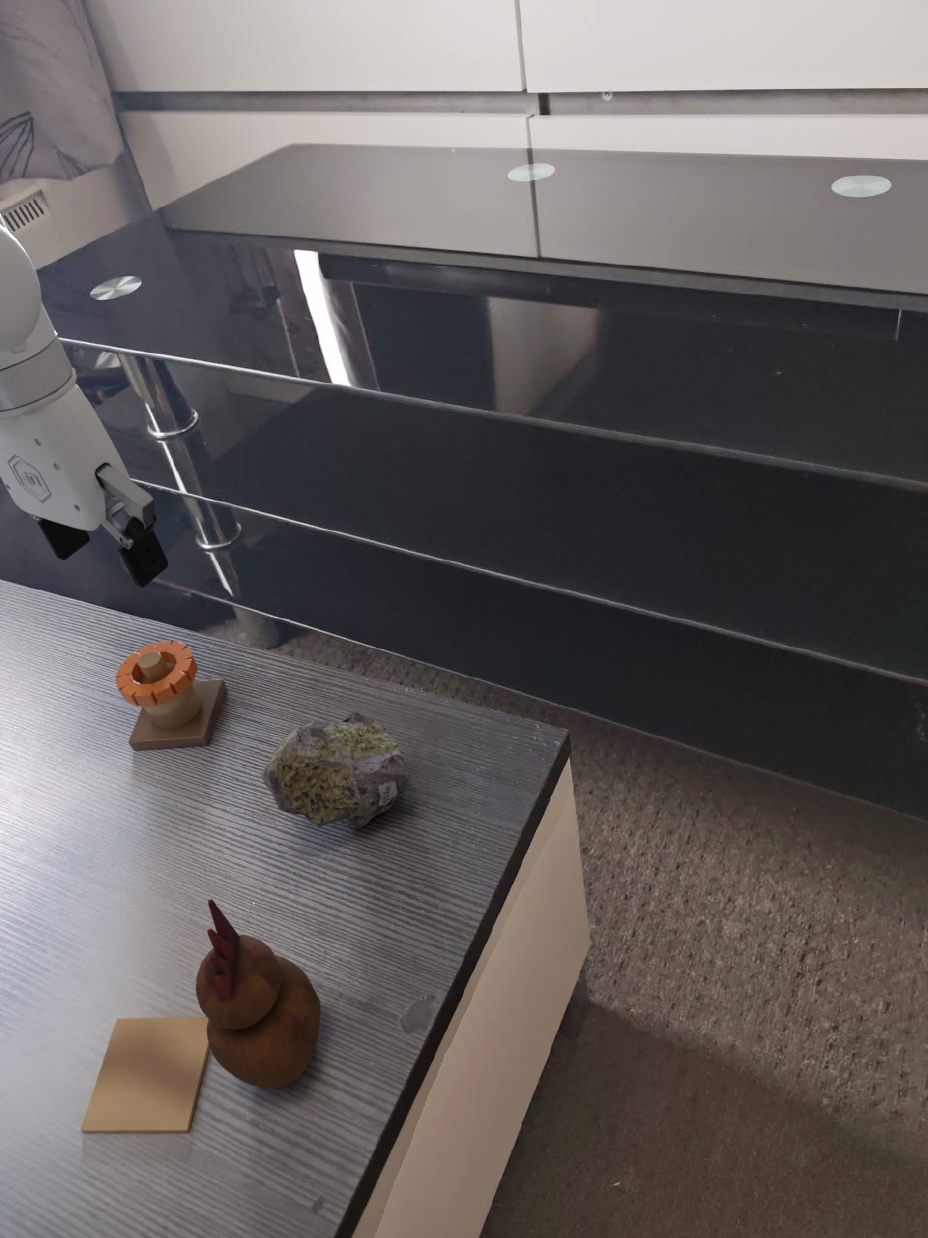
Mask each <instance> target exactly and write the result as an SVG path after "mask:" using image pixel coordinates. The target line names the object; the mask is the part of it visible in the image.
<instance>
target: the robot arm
mask: <svg viewBox="0 0 928 1238" xmlns="http://www.w3.org/2000/svg"><path fill="white" fill-rule="evenodd" d="M41 290H42V289H41V284H40V280H39V277H38V274H37V271H36V269H35V266H34V264H33V262H32V260H31V257H29V255H28V253H27V251H26V250H25V248H24V247H23V246H22V245H21V243H20V242H19V241H18V239H16V238H15V236H13V234H11V232H10V231H9V229H8V227H7V225H6V223H5V221H4V219H3V216H2V215H1V214H0V478H1V481H2V482H3V484H4V486H5V488H6V490H7V491H8V493H9V495H10V497H11V499H12V500H13V502H14V504H15V505H16V506H17V507H18V508H19V509H20V510H22V511H23V512H25V513H27V514H29V516H31V518H33V519H34V520H36V521H37V525H38V526H39V527H38V528H40V530H41V533H43V535H44V537H45V539H46V541H47V542H48V544H49V546H50V548H51V550H52V551H53V553H54V555H55V556H56V558H57V559H59V560H62V561H66V560H68V559H69V558H70V557H71V556H73V555H74V554H75V553H76V552H78V551H79V550H81V549H82V548H83V547H85V545H87V544H88V543H89V542H91V537H90V535H89V533H88V532H89V531H91V532H92V531H95V530H97V529H98V528H100V525H101V526H102V527H103V528H104V529H105V530H106V531H107V532H108V533H109V534H110V535H111V536H112V537H113V538H114V539H115V540H116V541H117V542H118V543H119V546H118V547H116V549H117V551H118V553H119V556H120V557H121V559H122V561H123V563H124V565H125V568H126V569H127V571H128V573H129V575H130V576H131V578H132V581H133V582H134V585H135V586H137V587H140V588H145V587H146V586H148V585H149V583H151V582H152V581H154V579H156V578H157V577H158V576H159V575H161V574H162V573H163V572H164V571H165V570H166V569H167V568H168V567H169V560H168V558H167V556H166V554H165V552H164V549H163V548H162V545H161V543H160V541H159V539H158V537H157V535H156V533H155V529H156V527H157V526H156V522H157V516H156V513H155V500H154V498H153V496H152V495H151V493H149V492H147V491H146V490H145V489H143V488H142V487H140V486H139V485H137V484H136V483H135V482H133V481H132V479H131V477H130V475H129V472H128V470H127V468H126V466H125V464H124V461H123V460H122V458H121V455H120V453H119V452H118V450H117V448H116V447H115V445H114V442H113V441H112V438H111V437H110V435H109V434H108V432H107V430H106V428H105V426H104V424H103V423H102V421H101V419H100V417H99V416H98V413H96V411H95V409H94V408H93V406H92V405H91V403H90V401H89V400H88V398H87V397H86V395H85V394H84V392H83V391H82V388H81V387H80V386H79V385H78V384H77V383H76V381H77V377H78V376H77V373H76V371H75V369H74V367H73V365H72V363H71V361H70V359H69V356H68V355H67V353H66V351H65V349H64V348H65V347H64V346H63V344H62V342H61V340H60V338H59V336H58V333H57V331H56V329H55V327H54V325H53V322H52V321H51V318H50V317H49V314H48V312H47V310H46V308H45V306H44V304H43V301H42V291H41ZM110 499H111V500H115V501H116V502H114V503H113V504H112V505H110V506H109V507H108V508H106V502H107V501H109V500H110ZM123 511H125V513H127V514H128V516H130V519H129V520H128V521H127V523H126V526H125V528H124V527H123V526H122V525H121V524H120V523H119V522H118V521H117V519H115V517H116V516H117V515H118V514H120V513H121V512H123Z"/></svg>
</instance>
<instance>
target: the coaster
mask: <svg viewBox="0 0 928 1238" xmlns="http://www.w3.org/2000/svg"><path fill="white" fill-rule="evenodd" d="M207 1024H208V1017H207V1016H172V1017H171V1016H170V1017H169V1016H167V1017H166V1016H165V1017H126V1018H124V1017H123V1018H121V1017H120V1018H116V1021H115V1024H114V1027H113V1030H112V1032H111V1037H110V1038H109V1042H108V1044H107V1045H108V1046H107V1049H106V1050H105V1051H106V1052H105V1054H104V1057H103V1061H102V1063H101V1067H100V1070H99V1073H98V1076H97V1079H96V1083H95V1085H94V1088H93V1091H92V1095H91V1097H90V1100H89V1104H88V1107H87V1109H86V1112H85V1115H84V1119H83V1122H82V1125H81V1128H80V1132H82V1133H83V1134H93V1133H94V1134H96V1133H97V1134H99V1133H103V1134H108V1133H109V1134H111V1133H113V1134H114V1133H115V1134H116V1133H117V1134H118V1133H122V1134H123V1133H125V1134H128V1133H132V1134H133V1133H134V1134H135V1133H190V1130H191V1126H192V1121H193V1117H194V1115H195V1110H196V1106H197V1101H198V1098H199V1094H200V1089H201V1085H202V1080H203V1077H204V1073H205V1069H206V1065H207V1061H208V1056H209V1053H210V1050H211V1048H210V1045H209V1042H208V1038H207Z"/></svg>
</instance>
